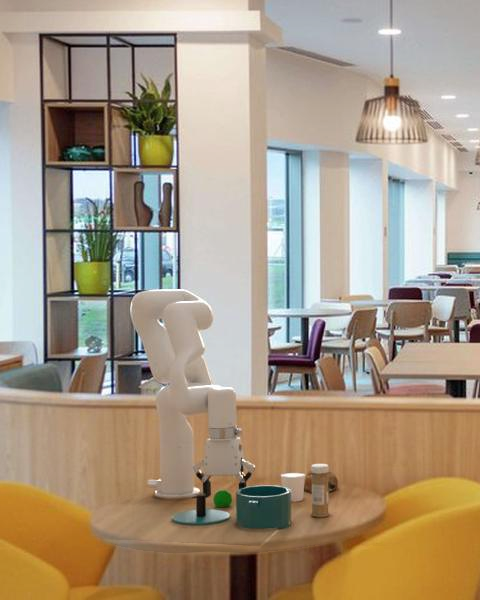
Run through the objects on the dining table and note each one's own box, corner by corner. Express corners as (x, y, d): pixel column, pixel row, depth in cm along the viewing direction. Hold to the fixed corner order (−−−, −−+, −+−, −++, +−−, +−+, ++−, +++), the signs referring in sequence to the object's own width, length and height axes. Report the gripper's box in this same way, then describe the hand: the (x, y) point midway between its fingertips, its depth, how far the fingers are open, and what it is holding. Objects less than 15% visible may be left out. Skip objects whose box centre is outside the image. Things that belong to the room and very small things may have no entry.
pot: (225, 532, 262) (225, 498, 262) (249, 514, 281) (249, 482, 281) (279, 534, 260) (278, 500, 260) (299, 516, 279) (299, 484, 278)
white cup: (307, 497, 301) (307, 472, 301) (302, 502, 294) (302, 477, 294) (283, 496, 302) (283, 471, 302) (278, 502, 295) (278, 476, 295)
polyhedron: (212, 506, 290) (212, 489, 289) (230, 505, 291) (230, 488, 291) (215, 510, 285) (214, 493, 285) (233, 509, 286) (233, 491, 286)
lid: (163, 526, 268) (163, 500, 268) (184, 512, 283) (184, 487, 283) (218, 528, 266) (218, 502, 266) (237, 514, 280) (237, 489, 280)
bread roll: (318, 506, 306) (327, 482, 303) (292, 487, 310) (301, 463, 308) (338, 499, 314) (347, 476, 312) (312, 481, 319) (321, 458, 317)
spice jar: (332, 515, 280) (332, 464, 279) (321, 518, 276) (321, 467, 276) (319, 512, 283) (318, 462, 282) (307, 516, 279) (307, 465, 278)
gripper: (258, 431, 289) (259, 494, 289) (197, 431, 292) (199, 494, 292) (249, 435, 282) (251, 499, 282) (187, 435, 285) (189, 499, 285)
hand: (224, 496), depth 287 cm, fingers open, 9 cm apart
